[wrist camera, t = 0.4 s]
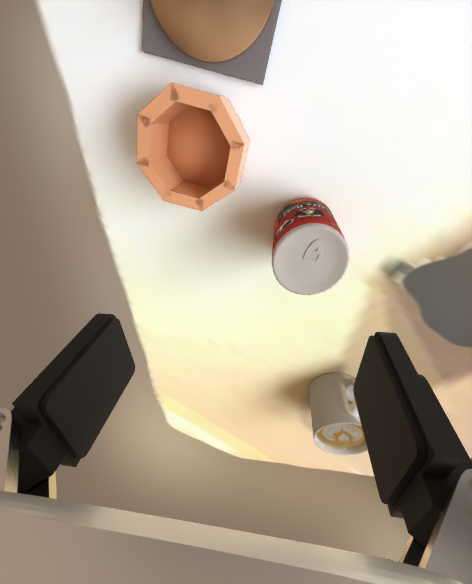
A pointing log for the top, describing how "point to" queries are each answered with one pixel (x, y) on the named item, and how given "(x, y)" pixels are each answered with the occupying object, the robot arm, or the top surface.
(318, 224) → the canned food
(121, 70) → the top surface
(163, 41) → the mat
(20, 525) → the robot arm
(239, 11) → the lid
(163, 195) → the bowl
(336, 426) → the coffee mug
